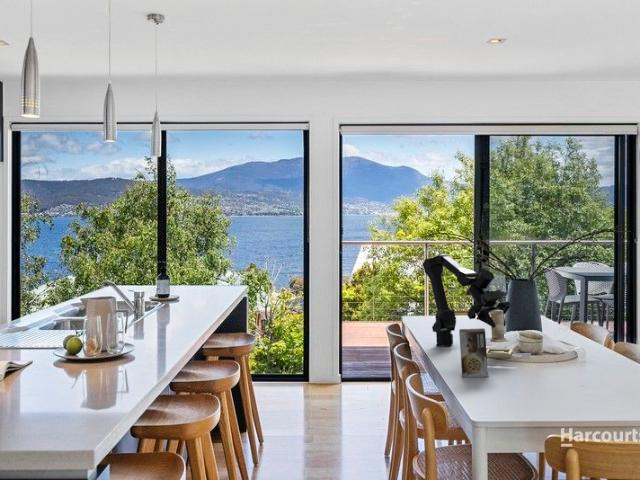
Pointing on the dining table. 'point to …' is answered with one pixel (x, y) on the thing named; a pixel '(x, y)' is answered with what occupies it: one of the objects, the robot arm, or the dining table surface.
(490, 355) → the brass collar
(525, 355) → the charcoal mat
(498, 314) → the disc
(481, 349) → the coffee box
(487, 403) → the dining table surface
